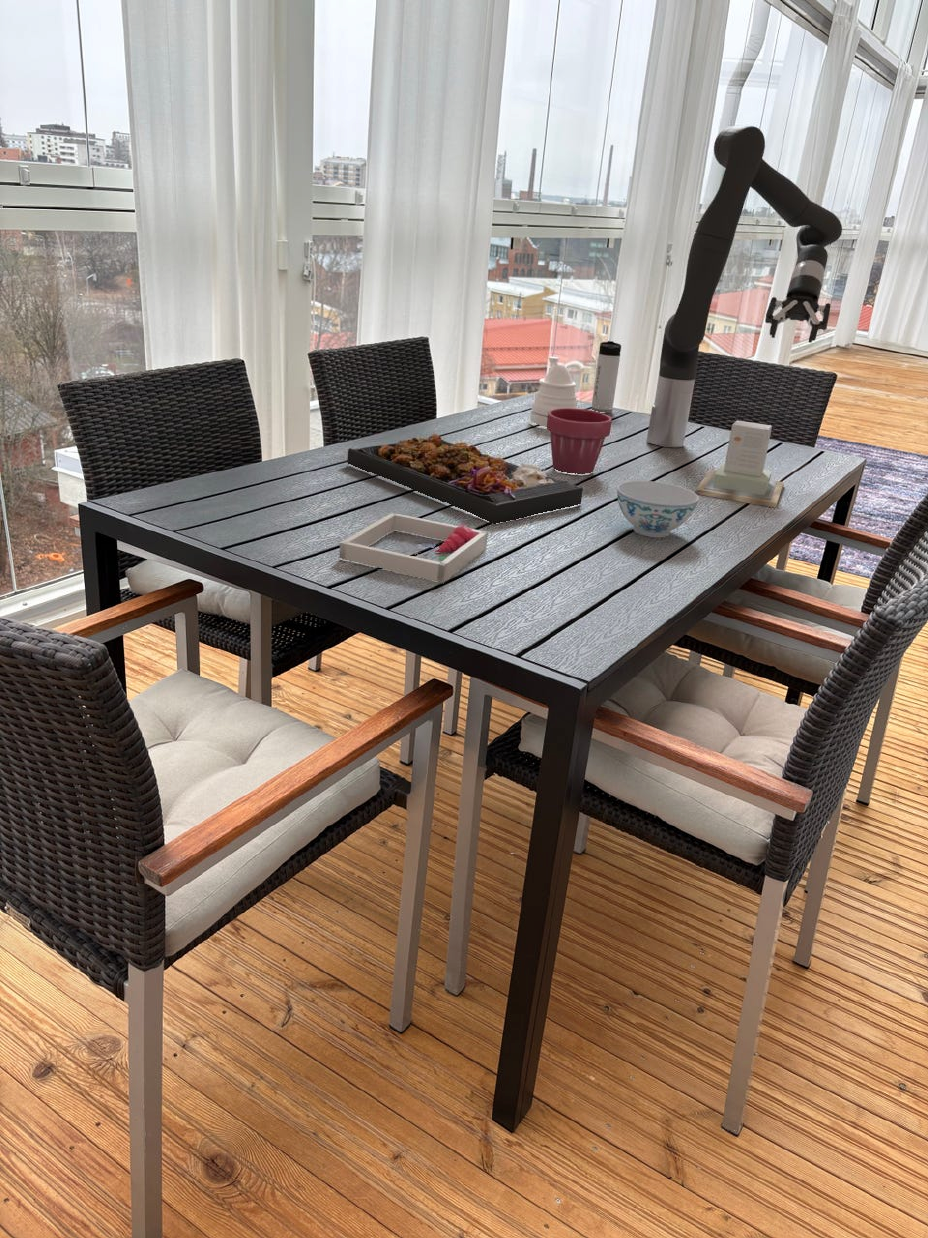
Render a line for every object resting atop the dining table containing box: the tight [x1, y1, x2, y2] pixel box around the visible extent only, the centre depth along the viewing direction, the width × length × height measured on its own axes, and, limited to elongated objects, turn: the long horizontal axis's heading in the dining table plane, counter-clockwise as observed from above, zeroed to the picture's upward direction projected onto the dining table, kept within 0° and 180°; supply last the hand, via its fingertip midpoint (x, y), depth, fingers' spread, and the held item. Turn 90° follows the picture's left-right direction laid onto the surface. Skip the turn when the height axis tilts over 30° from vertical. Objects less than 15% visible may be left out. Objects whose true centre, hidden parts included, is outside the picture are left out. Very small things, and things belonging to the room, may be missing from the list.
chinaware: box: [616, 480, 700, 538], centre depth 177 cm, size 15×15×8 cm
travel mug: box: [590, 340, 622, 414], centre depth 279 cm, size 6×7×20 cm
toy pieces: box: [414, 525, 476, 561], centre depth 158 cm, size 12×11×4 cm
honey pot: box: [529, 356, 580, 427], centre depth 256 cm, size 13×13×18 cm
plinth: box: [713, 462, 773, 495], centre depth 211 cm, size 11×12×3 cm
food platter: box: [346, 433, 584, 524], centre depth 196 cm, size 45×25×10 cm, turn 43°
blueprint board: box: [694, 469, 785, 509], centre depth 212 cm, size 17×20×1 cm
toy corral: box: [338, 512, 489, 584], centre depth 156 cm, size 18×19×3 cm
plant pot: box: [547, 408, 613, 474], centre depth 213 cm, size 14×14×13 cm
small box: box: [724, 420, 773, 477], centre depth 209 cm, size 8×6×10 cm
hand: (791, 337), depth 225 cm, fingers open, 8 cm apart
